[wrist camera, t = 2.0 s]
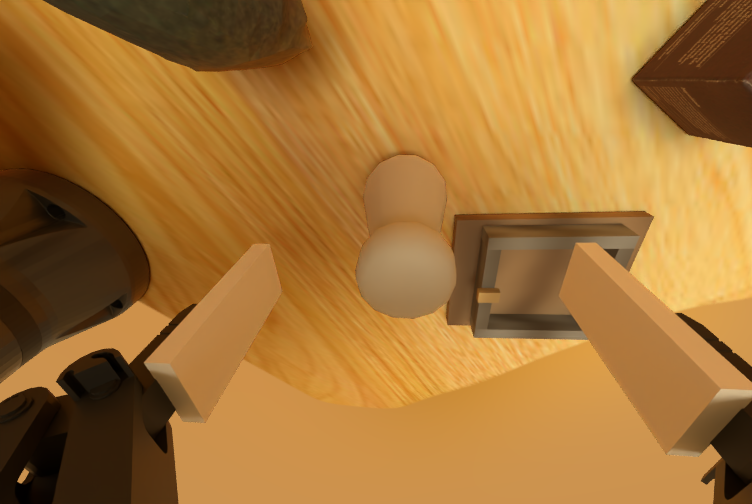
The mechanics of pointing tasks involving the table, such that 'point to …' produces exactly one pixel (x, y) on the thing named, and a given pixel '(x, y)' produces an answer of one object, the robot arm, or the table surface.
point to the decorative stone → (203, 29)
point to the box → (707, 73)
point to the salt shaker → (405, 240)
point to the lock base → (530, 268)
